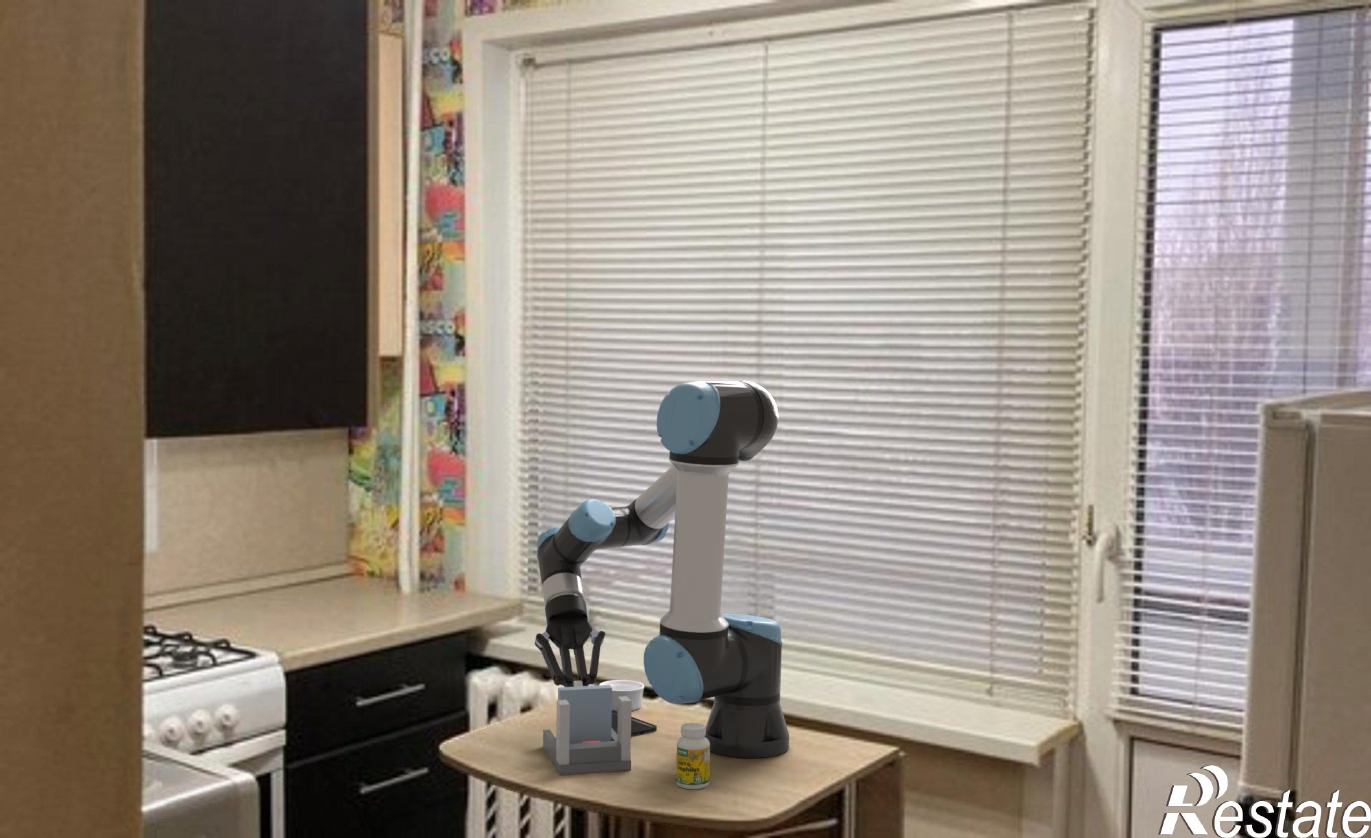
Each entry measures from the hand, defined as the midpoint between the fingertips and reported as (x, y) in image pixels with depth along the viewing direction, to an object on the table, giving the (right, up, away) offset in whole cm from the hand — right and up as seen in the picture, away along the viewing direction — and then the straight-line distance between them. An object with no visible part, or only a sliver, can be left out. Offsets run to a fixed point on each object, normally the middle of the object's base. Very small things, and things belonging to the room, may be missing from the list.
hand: (581, 717), depth 237 cm
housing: (+1, -6, -3) cm, 7 cm away
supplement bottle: (+19, -8, -16) cm, 26 cm away
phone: (+5, -6, +17) cm, 19 cm away
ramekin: (+5, -5, +30) cm, 31 cm away
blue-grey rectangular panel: (+1, -4, -2) cm, 5 cm away
